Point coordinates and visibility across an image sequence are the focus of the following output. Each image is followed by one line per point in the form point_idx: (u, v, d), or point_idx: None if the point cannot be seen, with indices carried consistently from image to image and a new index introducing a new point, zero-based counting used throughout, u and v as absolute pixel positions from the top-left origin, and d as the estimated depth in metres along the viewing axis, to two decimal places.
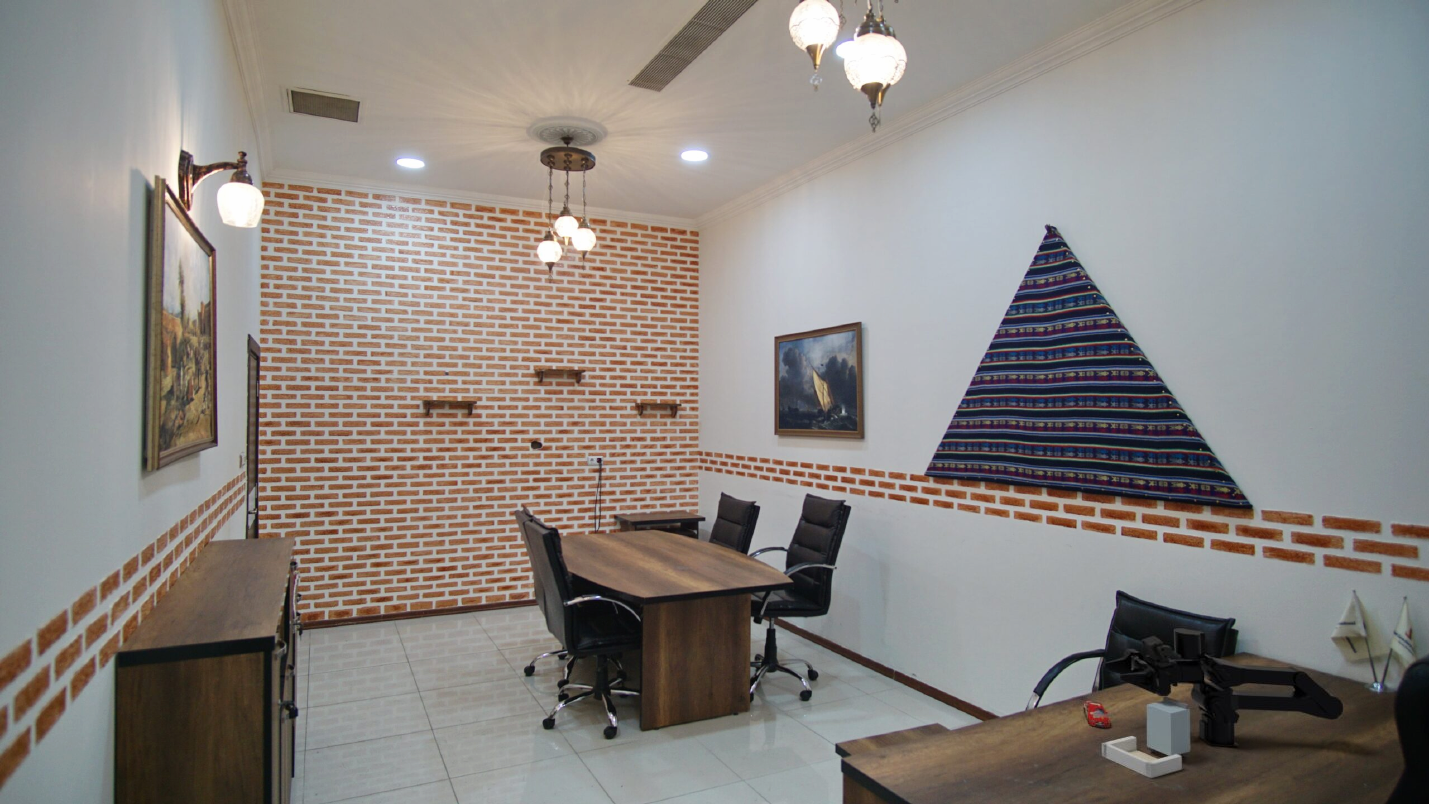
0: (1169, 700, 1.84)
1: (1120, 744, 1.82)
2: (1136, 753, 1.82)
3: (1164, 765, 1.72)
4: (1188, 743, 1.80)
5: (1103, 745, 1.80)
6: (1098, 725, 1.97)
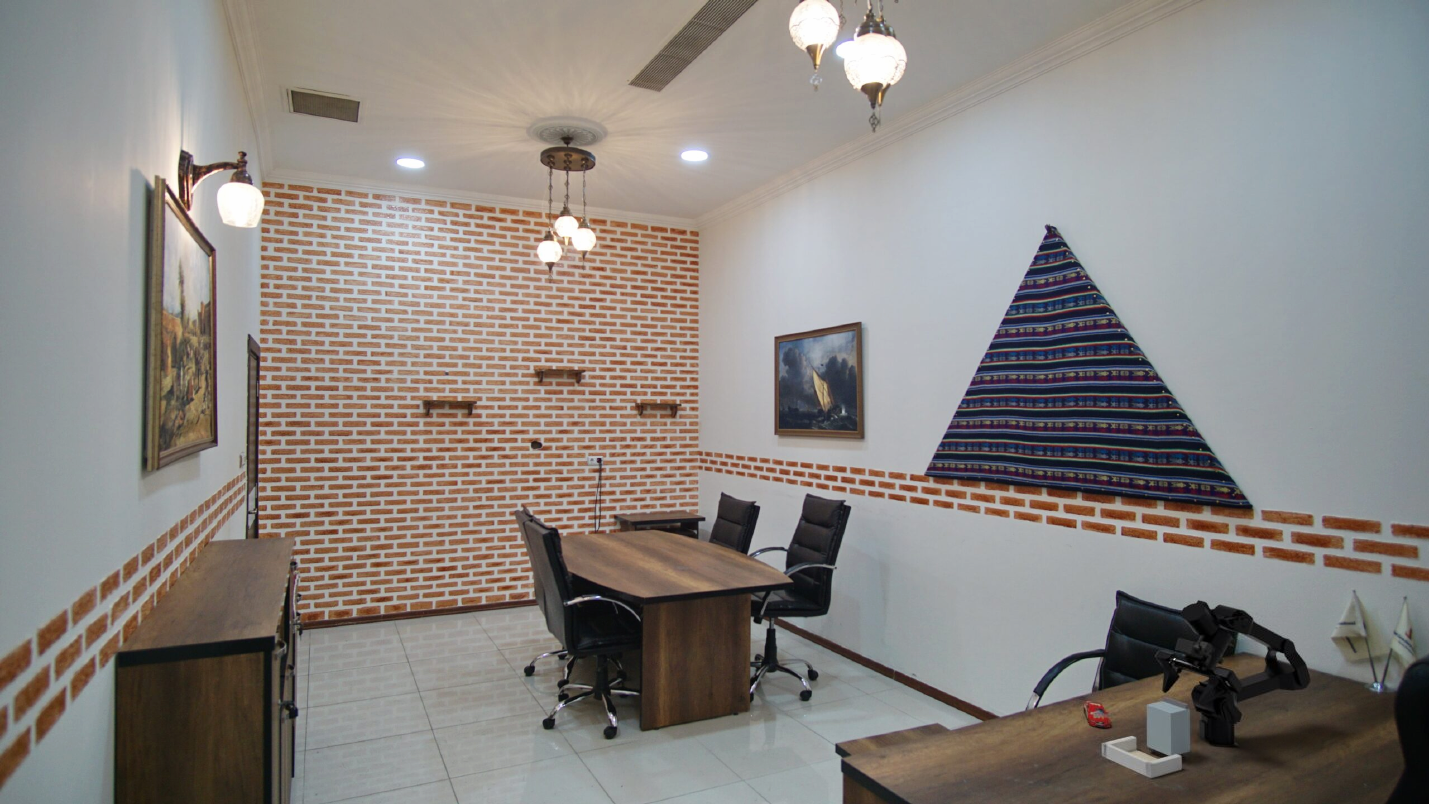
0: (1169, 700, 1.84)
1: (1120, 744, 1.82)
2: (1136, 753, 1.82)
3: (1164, 765, 1.72)
4: (1188, 743, 1.80)
5: (1103, 745, 1.80)
6: (1098, 725, 1.97)
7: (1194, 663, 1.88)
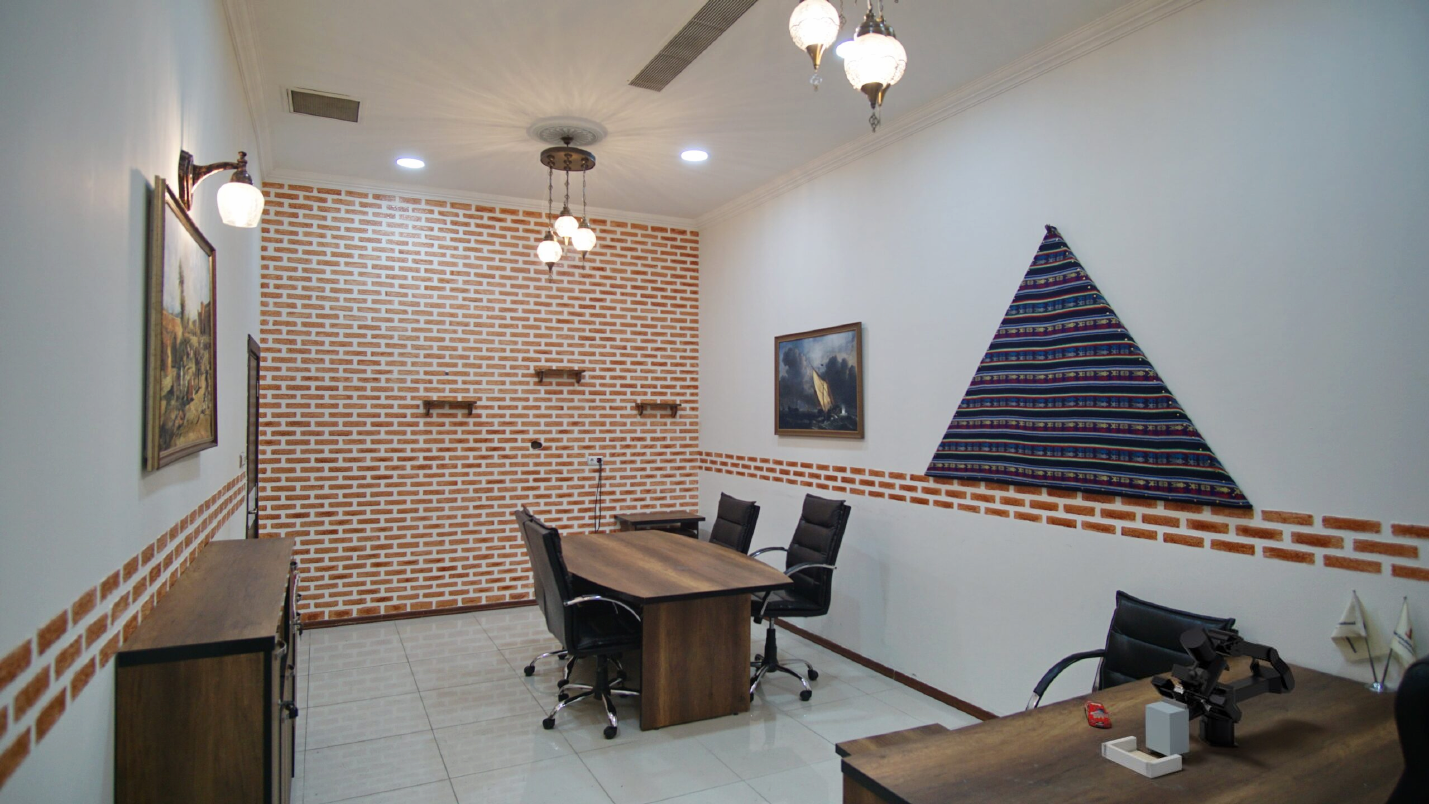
0: (1168, 700, 1.84)
1: (1120, 744, 1.82)
2: (1136, 753, 1.82)
3: (1164, 765, 1.72)
4: (1187, 743, 1.80)
5: (1103, 745, 1.80)
6: (1098, 725, 1.97)
7: (1190, 689, 1.87)
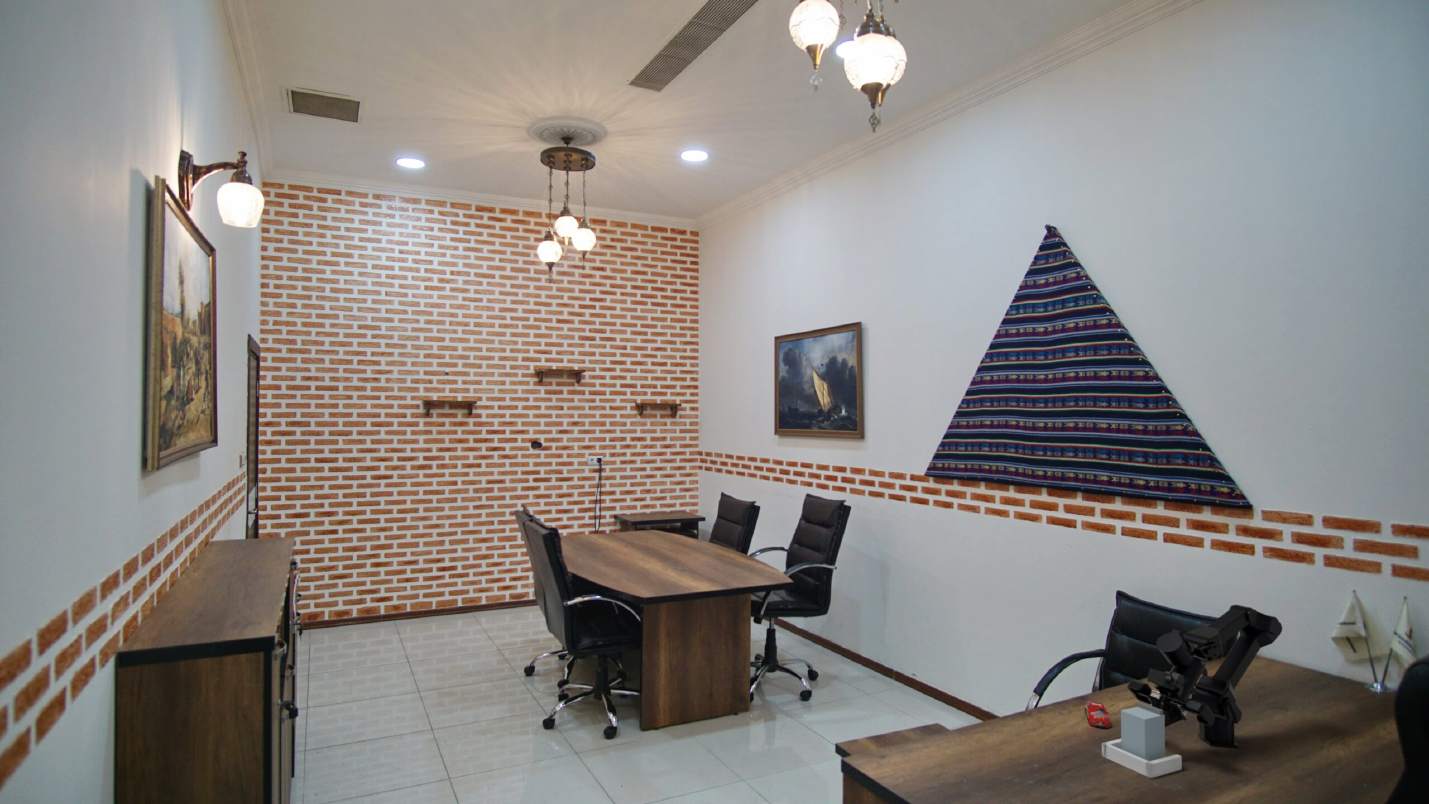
0: (1144, 706, 1.80)
1: (1120, 744, 1.82)
2: None
3: (1164, 765, 1.72)
4: (1163, 750, 1.76)
5: (1103, 745, 1.80)
6: (1098, 725, 1.97)
7: (1166, 694, 1.84)
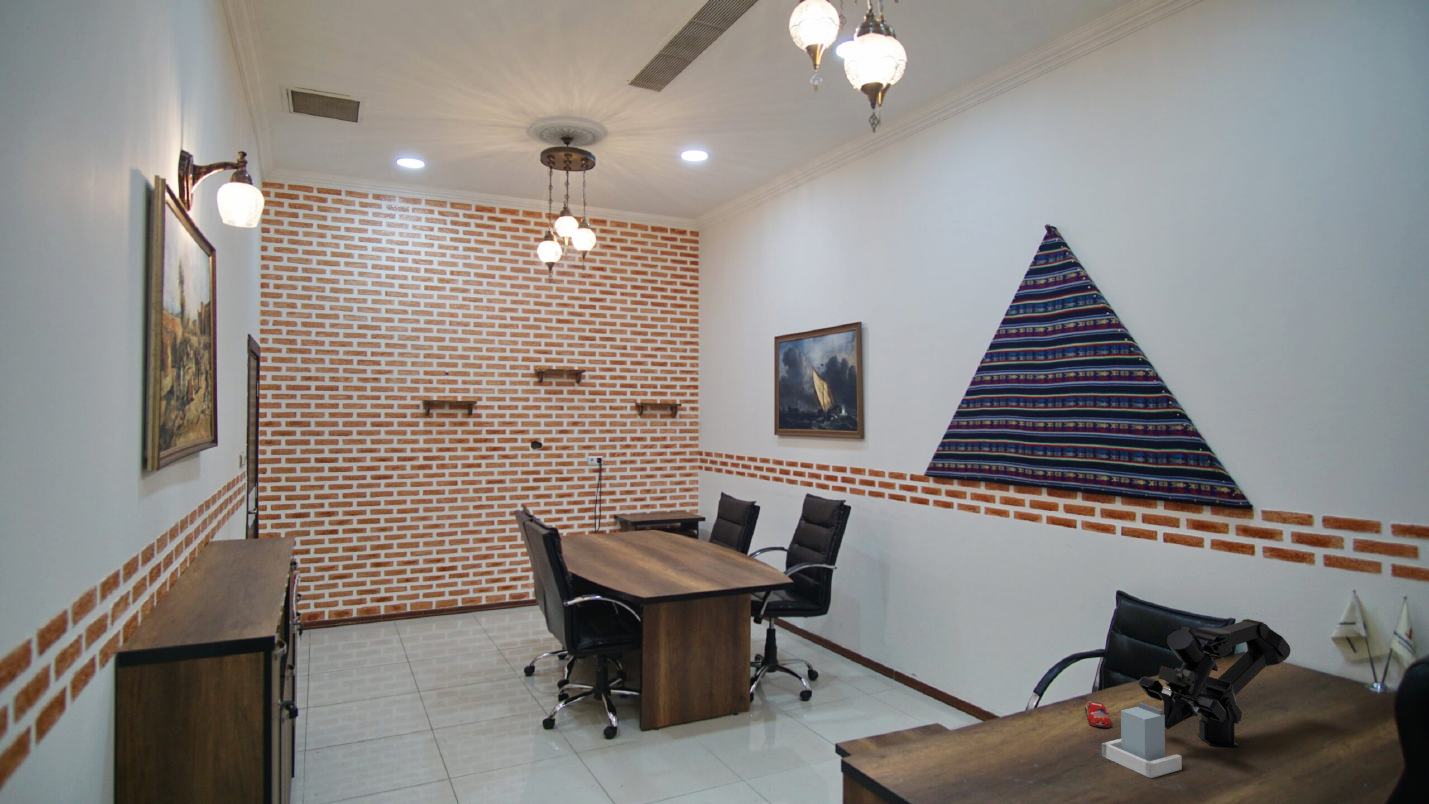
0: (1144, 706, 1.80)
1: (1120, 744, 1.82)
2: None
3: (1164, 765, 1.72)
4: (1163, 750, 1.76)
5: (1103, 745, 1.80)
6: (1098, 725, 1.97)
7: (1178, 690, 1.85)
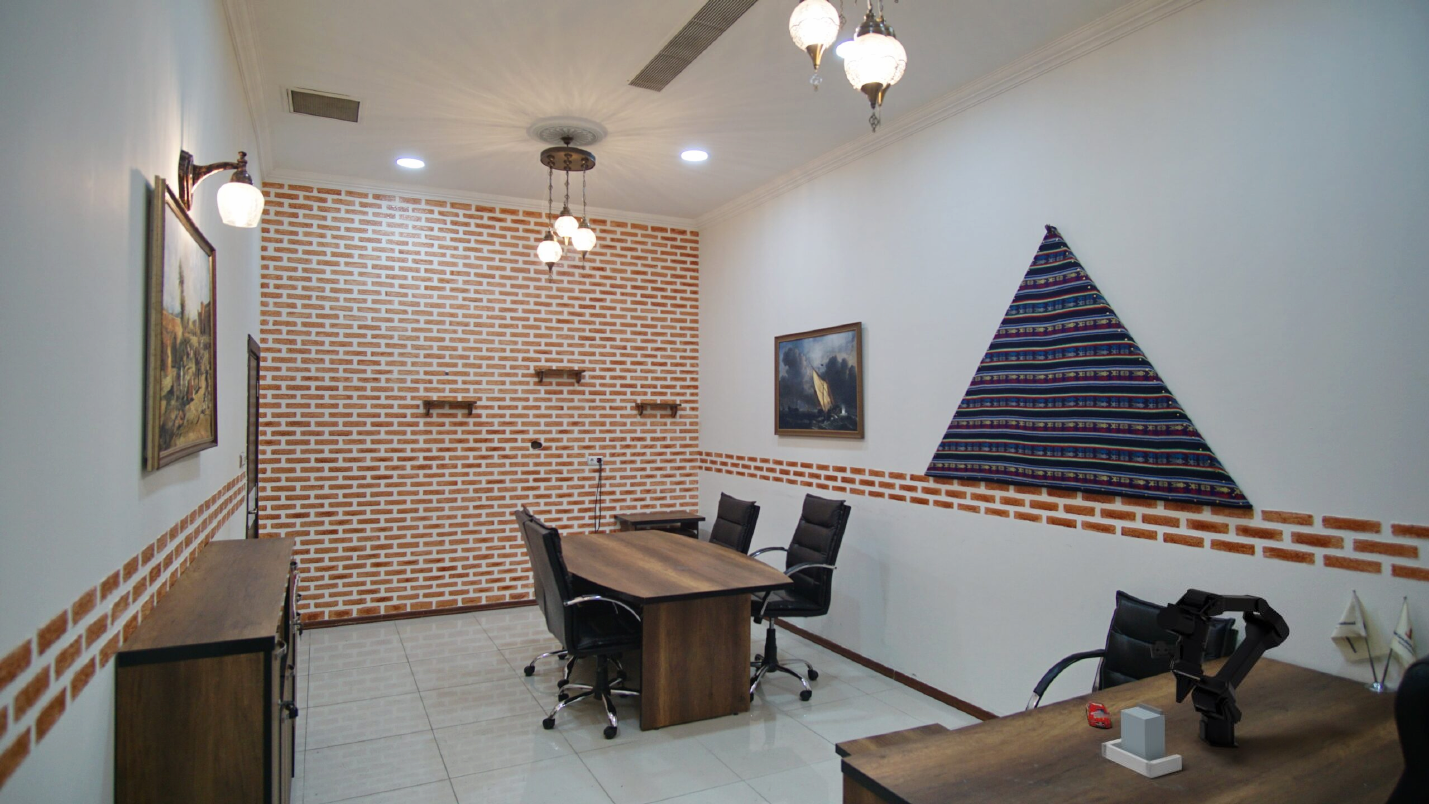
0: (1144, 706, 1.80)
1: (1120, 744, 1.82)
2: None
3: (1164, 765, 1.72)
4: (1163, 750, 1.76)
5: (1103, 745, 1.80)
6: (1098, 725, 1.97)
7: None
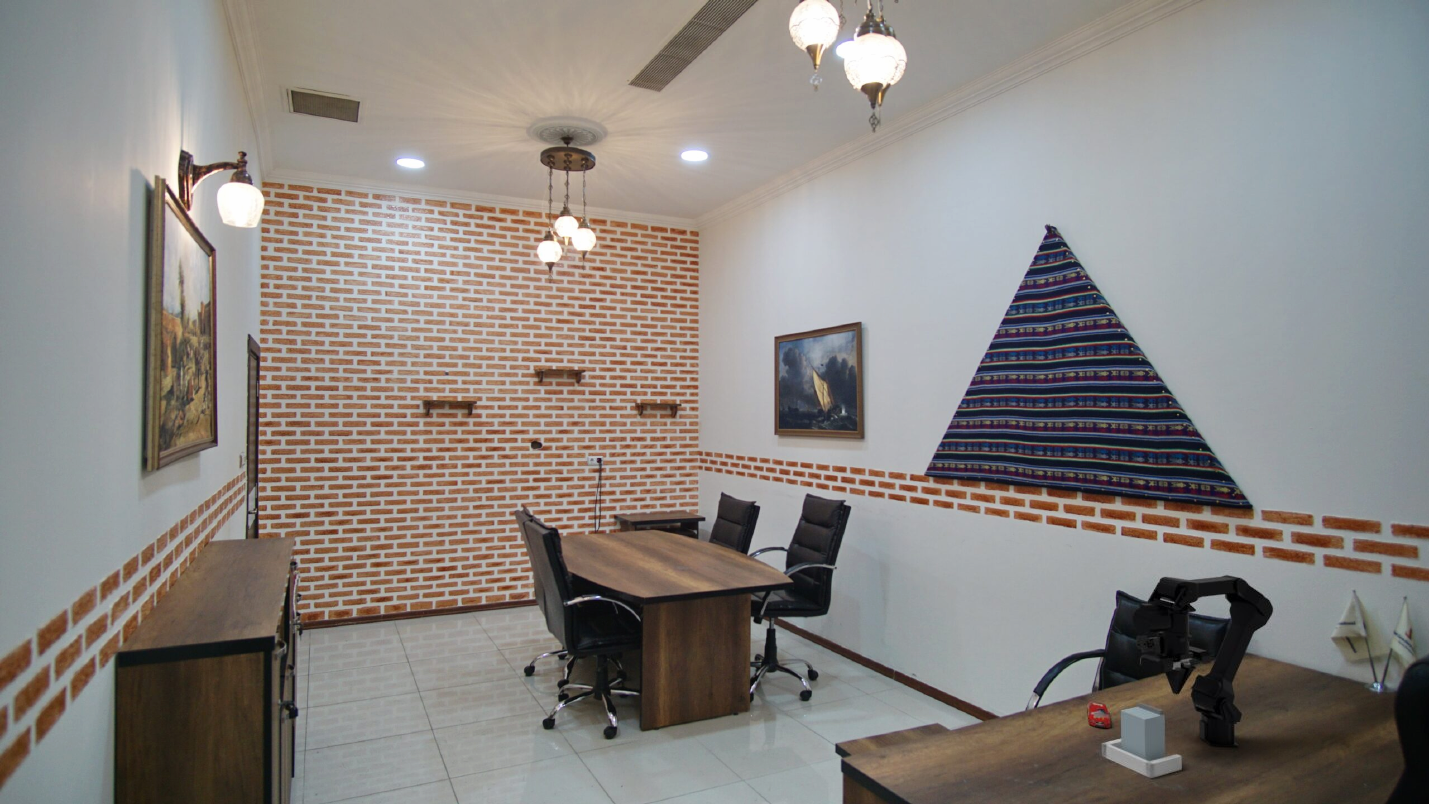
0: (1144, 706, 1.80)
1: (1120, 744, 1.82)
2: None
3: (1164, 765, 1.72)
4: (1163, 750, 1.76)
5: (1103, 745, 1.80)
6: (1098, 725, 1.97)
7: None
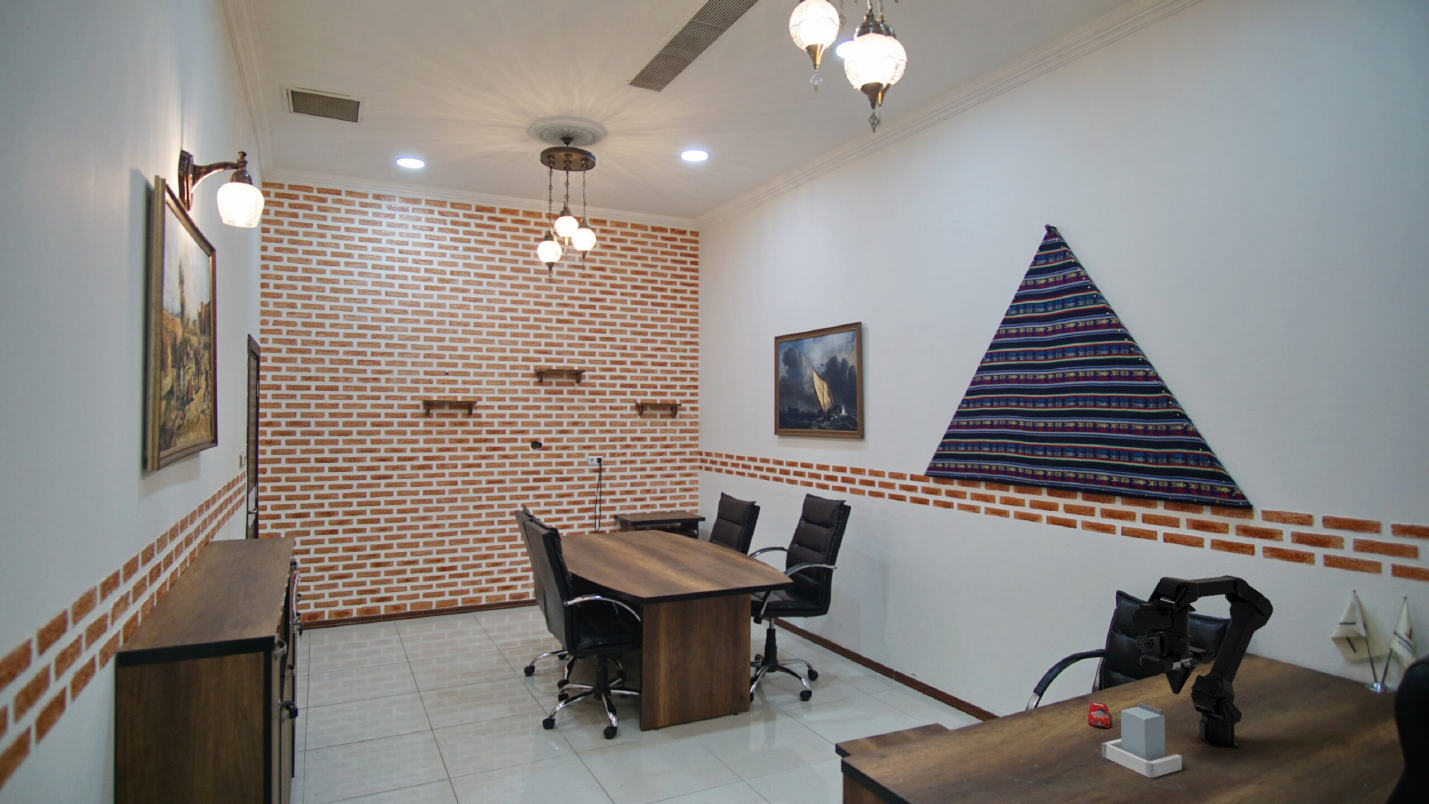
0: (1144, 706, 1.80)
1: (1120, 744, 1.82)
2: None
3: (1164, 765, 1.72)
4: (1163, 750, 1.76)
5: (1103, 745, 1.80)
6: (1097, 725, 1.98)
7: None
